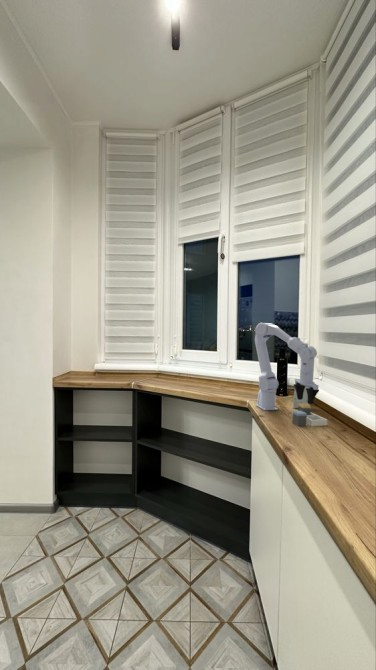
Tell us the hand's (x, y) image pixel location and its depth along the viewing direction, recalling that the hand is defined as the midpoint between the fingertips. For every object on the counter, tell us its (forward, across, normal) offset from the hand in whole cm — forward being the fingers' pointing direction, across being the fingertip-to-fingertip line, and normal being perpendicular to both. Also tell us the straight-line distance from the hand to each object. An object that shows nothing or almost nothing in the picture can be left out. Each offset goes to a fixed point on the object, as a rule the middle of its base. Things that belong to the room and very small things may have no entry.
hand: (305, 401), depth 140 cm
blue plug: (+8, -7, +8) cm, 13 cm away
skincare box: (+8, +16, -10) cm, 20 cm away
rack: (+8, -3, 0) cm, 9 cm away
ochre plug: (+7, 0, 0) cm, 7 cm away
